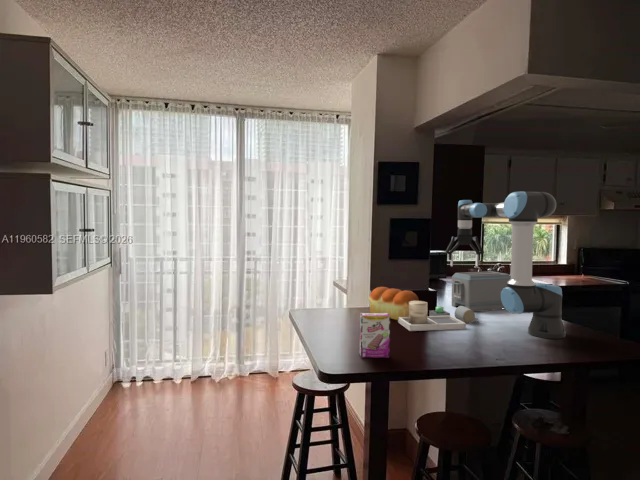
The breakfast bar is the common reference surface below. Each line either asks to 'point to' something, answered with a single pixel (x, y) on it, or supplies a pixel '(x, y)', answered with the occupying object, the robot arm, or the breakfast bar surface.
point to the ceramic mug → (465, 314)
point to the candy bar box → (374, 335)
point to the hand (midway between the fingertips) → (464, 266)
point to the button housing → (433, 313)
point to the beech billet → (418, 312)
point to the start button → (439, 309)
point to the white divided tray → (433, 323)
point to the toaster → (479, 290)
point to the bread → (391, 301)
